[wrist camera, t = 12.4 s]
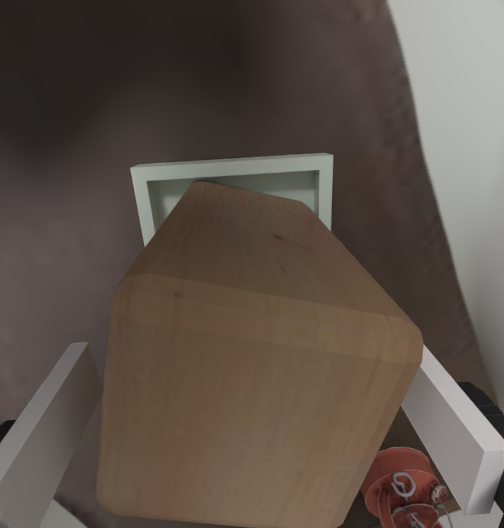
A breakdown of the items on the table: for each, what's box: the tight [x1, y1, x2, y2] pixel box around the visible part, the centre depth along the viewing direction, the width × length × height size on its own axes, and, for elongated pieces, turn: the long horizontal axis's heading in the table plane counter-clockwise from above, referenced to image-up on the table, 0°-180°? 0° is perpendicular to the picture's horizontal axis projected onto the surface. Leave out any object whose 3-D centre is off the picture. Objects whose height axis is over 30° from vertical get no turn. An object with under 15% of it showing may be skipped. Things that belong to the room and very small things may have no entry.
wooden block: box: [96, 180, 424, 528], centre depth 21 cm, size 10×10×20 cm
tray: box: [130, 153, 333, 247], centre depth 29 cm, size 15×15×2 cm
